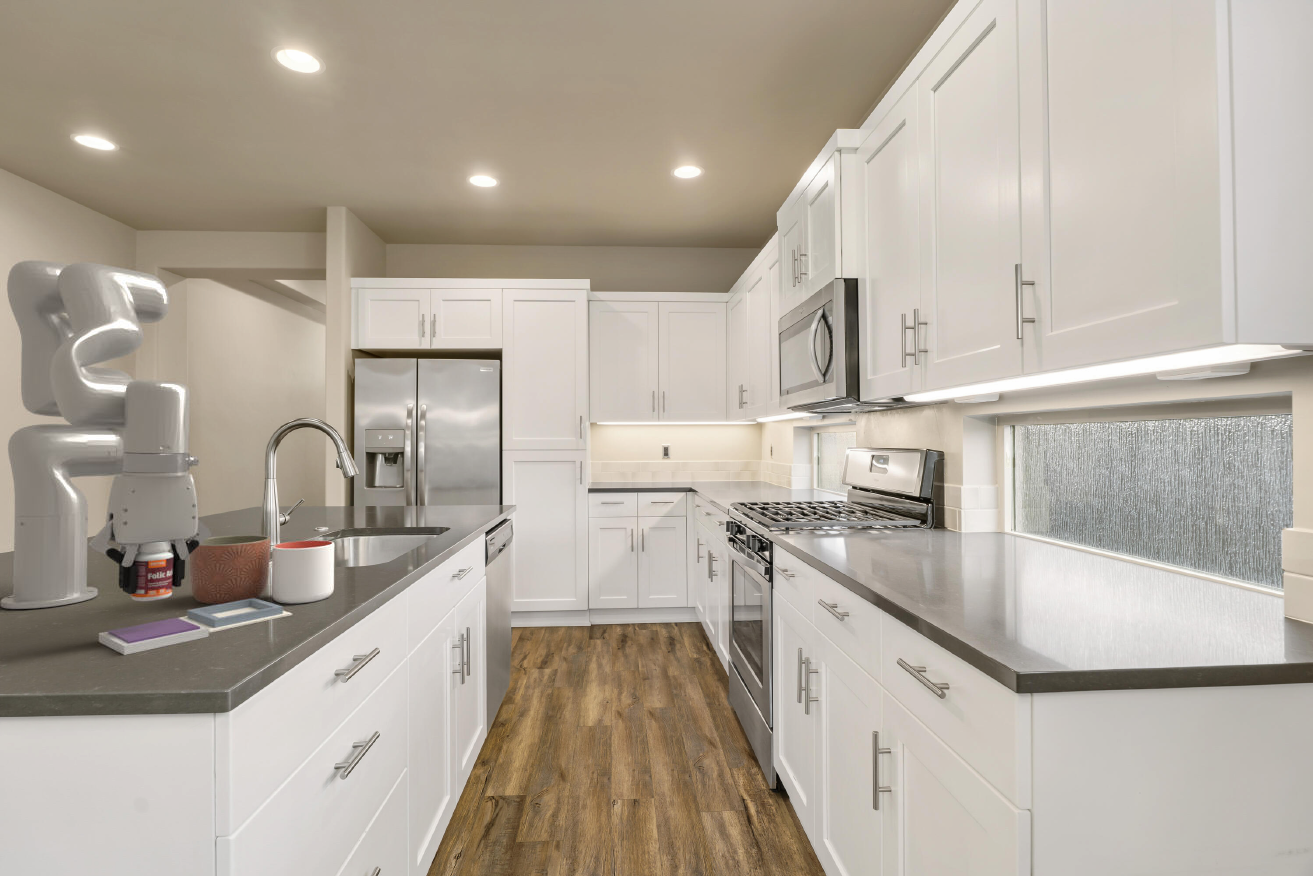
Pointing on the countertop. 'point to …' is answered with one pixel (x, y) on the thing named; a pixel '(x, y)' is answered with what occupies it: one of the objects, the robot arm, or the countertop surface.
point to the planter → (230, 568)
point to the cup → (302, 571)
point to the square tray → (235, 614)
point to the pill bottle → (154, 571)
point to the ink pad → (152, 635)
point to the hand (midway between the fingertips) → (152, 587)
